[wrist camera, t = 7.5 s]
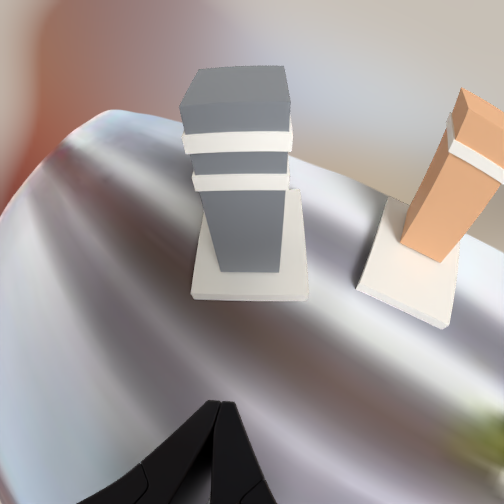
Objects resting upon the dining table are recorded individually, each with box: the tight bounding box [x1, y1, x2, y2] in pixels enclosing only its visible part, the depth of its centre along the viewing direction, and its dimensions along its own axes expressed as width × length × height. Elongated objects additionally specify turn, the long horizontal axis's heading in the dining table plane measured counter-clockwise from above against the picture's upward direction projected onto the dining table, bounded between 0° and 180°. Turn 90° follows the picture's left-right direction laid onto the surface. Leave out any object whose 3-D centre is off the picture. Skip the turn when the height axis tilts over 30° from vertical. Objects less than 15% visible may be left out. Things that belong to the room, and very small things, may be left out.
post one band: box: [400, 88, 504, 263], centre depth 17 cm, size 5×5×14 cm
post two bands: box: [179, 66, 293, 273], centre depth 17 cm, size 5×5×14 cm
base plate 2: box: [356, 196, 460, 330], centre depth 23 cm, size 11×9×1 cm
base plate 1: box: [191, 189, 309, 301], centre depth 25 cm, size 11×9×1 cm
